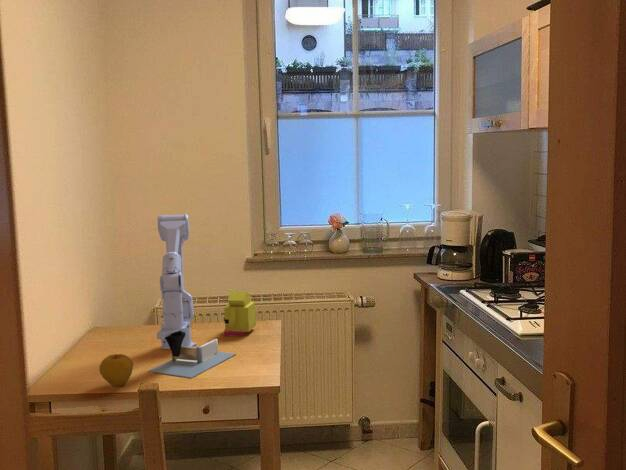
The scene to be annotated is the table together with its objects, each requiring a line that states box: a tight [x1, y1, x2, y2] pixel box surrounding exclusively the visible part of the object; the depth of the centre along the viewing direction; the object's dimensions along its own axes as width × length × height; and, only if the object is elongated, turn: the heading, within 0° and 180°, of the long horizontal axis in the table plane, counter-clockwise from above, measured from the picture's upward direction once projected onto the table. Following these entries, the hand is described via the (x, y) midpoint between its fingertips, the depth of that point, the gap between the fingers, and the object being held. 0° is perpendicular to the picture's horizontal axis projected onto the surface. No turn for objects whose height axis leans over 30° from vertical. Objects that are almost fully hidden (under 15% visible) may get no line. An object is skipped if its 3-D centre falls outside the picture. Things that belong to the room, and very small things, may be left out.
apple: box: [98, 353, 134, 387], centre depth 180 cm, size 9×9×9 cm
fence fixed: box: [195, 338, 219, 363], centre depth 201 cm, size 1×10×5 cm, turn 154°
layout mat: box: [147, 351, 237, 379], centre depth 198 cm, size 16×23×1 cm
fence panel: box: [171, 346, 197, 361], centre depth 199 cm, size 8×1×5 cm, turn 71°
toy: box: [223, 290, 257, 337], centre depth 230 cm, size 13×10×15 cm
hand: (176, 356), depth 198 cm, fingers closed
